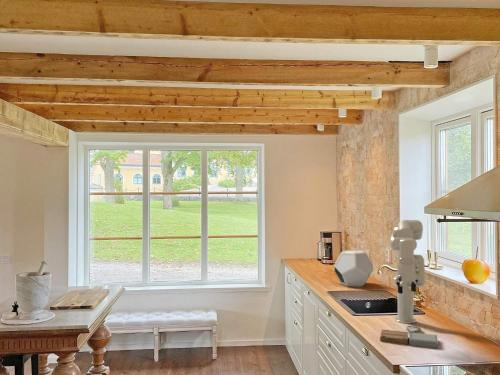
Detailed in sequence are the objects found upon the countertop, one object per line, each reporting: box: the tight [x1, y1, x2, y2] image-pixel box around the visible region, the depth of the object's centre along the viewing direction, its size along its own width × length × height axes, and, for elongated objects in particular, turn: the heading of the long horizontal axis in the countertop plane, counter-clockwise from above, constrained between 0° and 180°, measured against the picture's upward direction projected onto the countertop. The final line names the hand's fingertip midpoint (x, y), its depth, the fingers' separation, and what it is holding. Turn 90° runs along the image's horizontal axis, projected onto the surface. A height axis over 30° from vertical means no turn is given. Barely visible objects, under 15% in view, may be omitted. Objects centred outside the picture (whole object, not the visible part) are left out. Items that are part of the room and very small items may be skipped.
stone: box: [405, 325, 426, 334], centre depth 261 cm, size 12×9×3 cm
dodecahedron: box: [333, 249, 374, 288], centre depth 403 cm, size 34×36×30 cm
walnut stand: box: [379, 329, 409, 346], centre depth 249 cm, size 14×14×3 cm
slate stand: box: [408, 331, 439, 349], centre depth 244 cm, size 14×14×3 cm
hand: (406, 292), depth 251 cm, fingers open, 9 cm apart
